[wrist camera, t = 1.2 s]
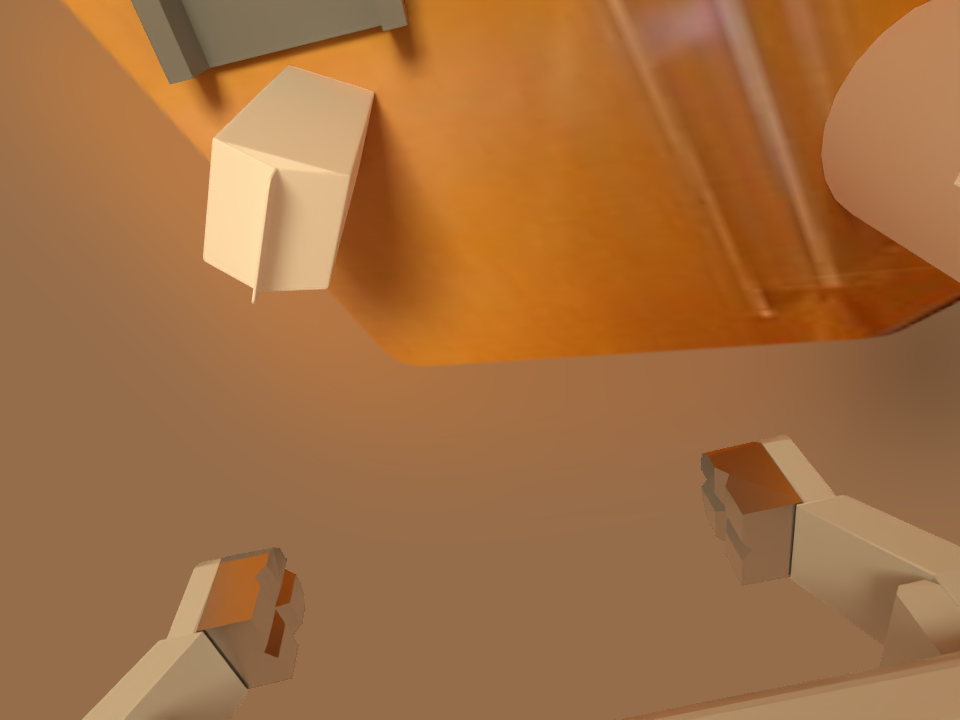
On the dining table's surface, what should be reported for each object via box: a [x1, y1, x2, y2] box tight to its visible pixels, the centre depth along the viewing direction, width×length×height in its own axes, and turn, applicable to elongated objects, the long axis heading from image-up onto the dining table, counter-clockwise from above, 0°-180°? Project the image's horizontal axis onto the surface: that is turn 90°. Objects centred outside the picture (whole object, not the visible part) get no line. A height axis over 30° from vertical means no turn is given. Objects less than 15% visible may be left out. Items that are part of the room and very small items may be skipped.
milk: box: [203, 65, 375, 304], centre depth 35 cm, size 6×6×22 cm
